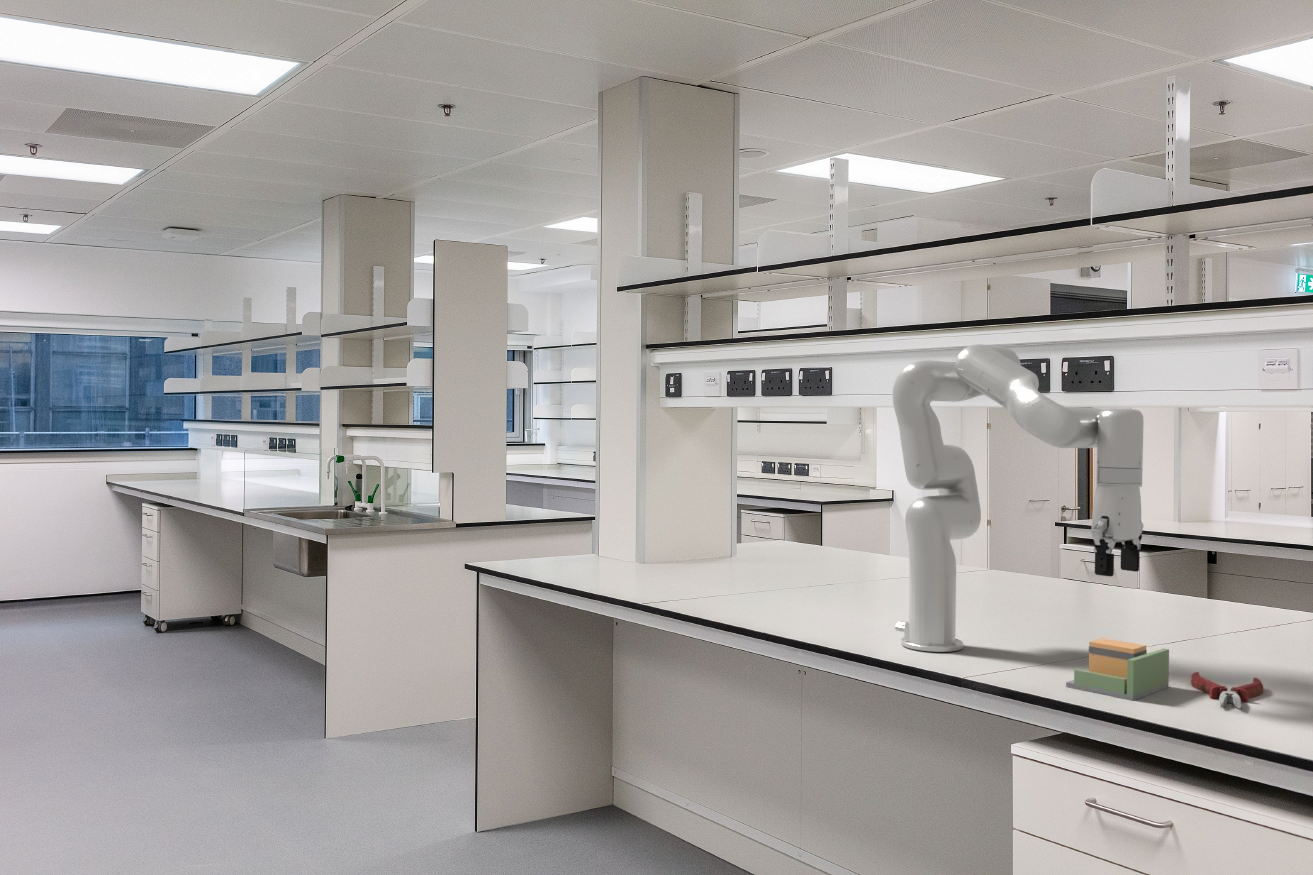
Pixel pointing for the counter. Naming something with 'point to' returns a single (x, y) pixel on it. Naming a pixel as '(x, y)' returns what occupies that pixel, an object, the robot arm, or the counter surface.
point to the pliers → (1226, 696)
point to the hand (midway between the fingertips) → (1117, 572)
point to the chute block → (1112, 656)
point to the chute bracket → (1128, 677)
